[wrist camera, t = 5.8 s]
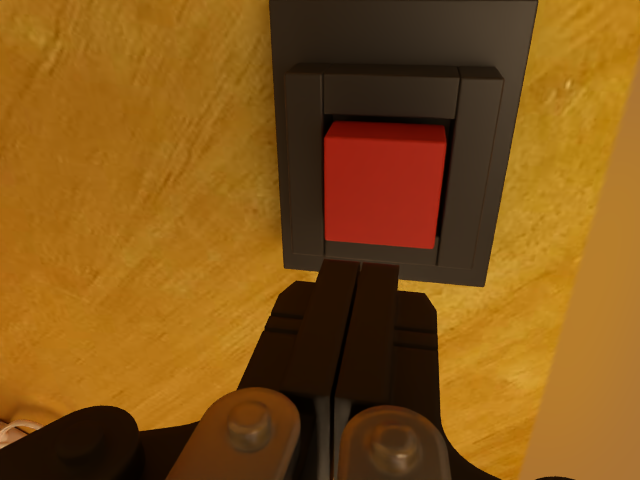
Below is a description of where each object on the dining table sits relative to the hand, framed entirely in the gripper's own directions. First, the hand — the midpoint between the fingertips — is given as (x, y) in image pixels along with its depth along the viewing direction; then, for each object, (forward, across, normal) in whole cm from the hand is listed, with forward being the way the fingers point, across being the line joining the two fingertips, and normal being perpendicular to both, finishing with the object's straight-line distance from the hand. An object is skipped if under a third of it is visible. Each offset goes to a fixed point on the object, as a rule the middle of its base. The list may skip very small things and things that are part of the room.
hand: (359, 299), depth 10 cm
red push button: (+10, 0, 0) cm, 10 cm away
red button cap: (+7, 0, 0) cm, 7 cm away
